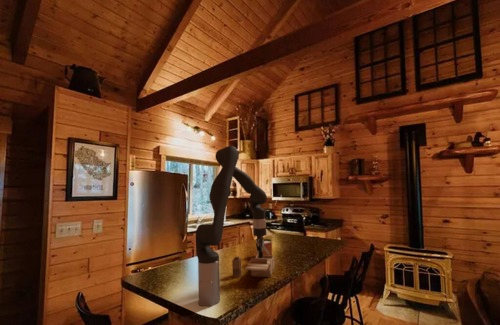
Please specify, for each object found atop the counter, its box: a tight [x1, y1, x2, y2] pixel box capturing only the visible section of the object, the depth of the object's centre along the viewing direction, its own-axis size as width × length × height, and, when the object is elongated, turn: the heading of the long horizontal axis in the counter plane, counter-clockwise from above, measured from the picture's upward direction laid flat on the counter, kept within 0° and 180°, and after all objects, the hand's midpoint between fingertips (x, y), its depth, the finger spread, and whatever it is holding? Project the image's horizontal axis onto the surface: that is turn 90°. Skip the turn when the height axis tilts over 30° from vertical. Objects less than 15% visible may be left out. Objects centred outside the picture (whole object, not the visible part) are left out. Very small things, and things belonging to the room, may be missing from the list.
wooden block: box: [231, 256, 242, 278], centre depth 147 cm, size 4×4×10 cm
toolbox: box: [250, 254, 276, 278], centre depth 152 cm, size 18×11×7 cm, turn 167°
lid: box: [245, 257, 272, 271], centre depth 141 cm, size 18×11×4 cm, turn 167°
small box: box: [256, 241, 273, 256], centre depth 172 cm, size 8×6×13 cm
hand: (260, 258), depth 146 cm, fingers closed
